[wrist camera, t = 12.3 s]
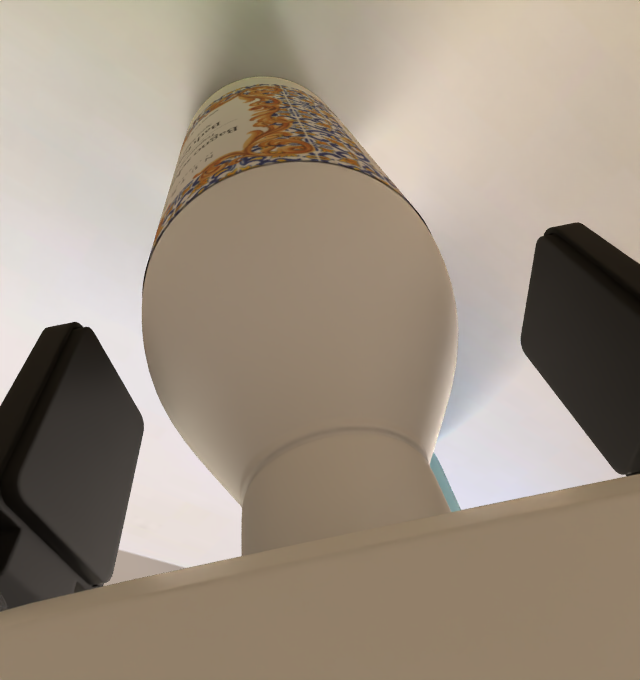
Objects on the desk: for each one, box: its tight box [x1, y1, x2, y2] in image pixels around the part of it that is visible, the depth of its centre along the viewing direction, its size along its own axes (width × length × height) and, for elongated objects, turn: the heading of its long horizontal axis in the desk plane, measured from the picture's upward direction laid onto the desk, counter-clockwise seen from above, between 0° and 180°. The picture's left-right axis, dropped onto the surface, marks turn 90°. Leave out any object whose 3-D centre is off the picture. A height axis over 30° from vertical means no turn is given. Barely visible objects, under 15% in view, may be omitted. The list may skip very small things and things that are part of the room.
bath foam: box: [142, 76, 458, 556], centre depth 12 cm, size 7×7×20 cm
